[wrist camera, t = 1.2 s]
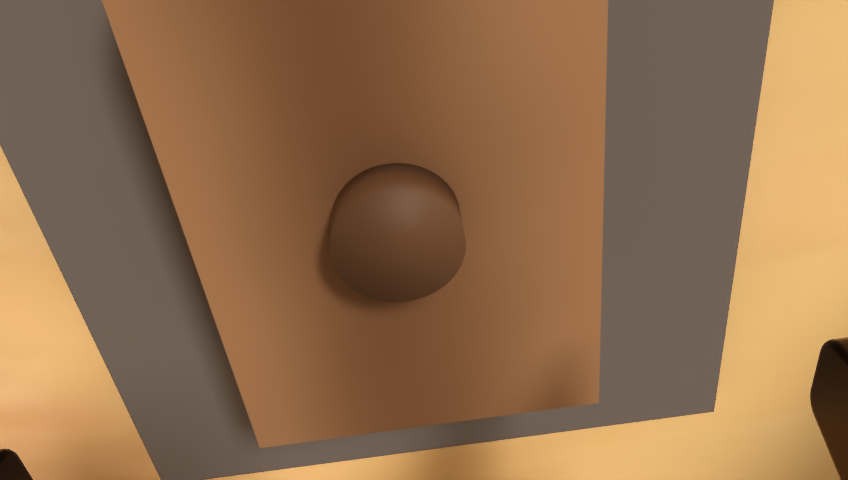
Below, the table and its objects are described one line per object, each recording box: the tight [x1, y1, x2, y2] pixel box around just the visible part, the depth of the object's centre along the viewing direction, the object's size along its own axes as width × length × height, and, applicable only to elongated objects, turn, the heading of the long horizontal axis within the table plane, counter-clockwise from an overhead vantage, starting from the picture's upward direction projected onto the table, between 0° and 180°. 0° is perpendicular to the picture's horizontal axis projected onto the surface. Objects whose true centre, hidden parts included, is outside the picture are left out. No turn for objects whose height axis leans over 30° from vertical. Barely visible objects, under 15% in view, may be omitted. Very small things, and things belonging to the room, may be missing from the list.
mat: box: [0, 0, 774, 480], centre depth 15 cm, size 14×18×1 cm
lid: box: [102, 0, 608, 448], centre depth 13 cm, size 6×10×4 cm
